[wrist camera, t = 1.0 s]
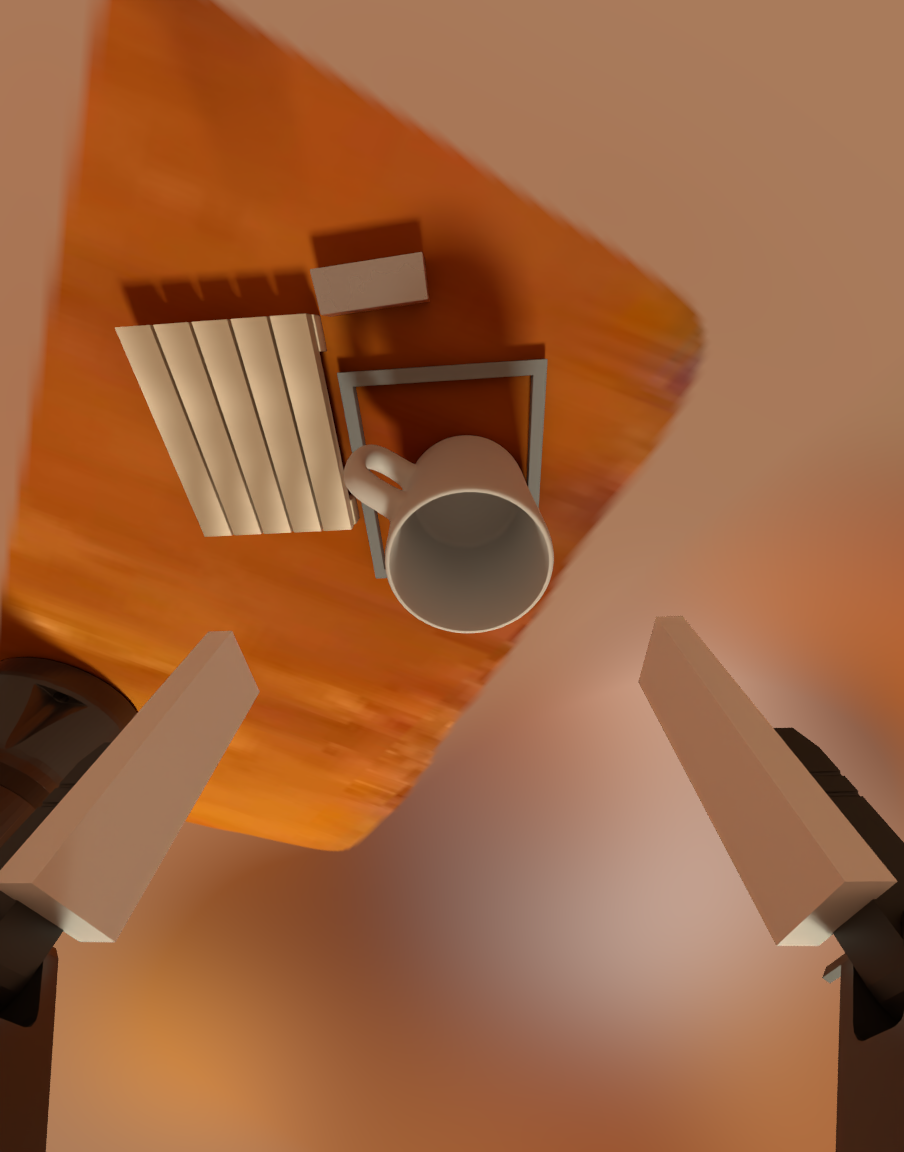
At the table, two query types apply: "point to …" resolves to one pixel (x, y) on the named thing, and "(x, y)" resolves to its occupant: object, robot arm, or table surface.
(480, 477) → the mug
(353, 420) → the socket frame
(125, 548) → the table surface
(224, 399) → the rack
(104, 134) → the table surface
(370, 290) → the grey rectangular bar
